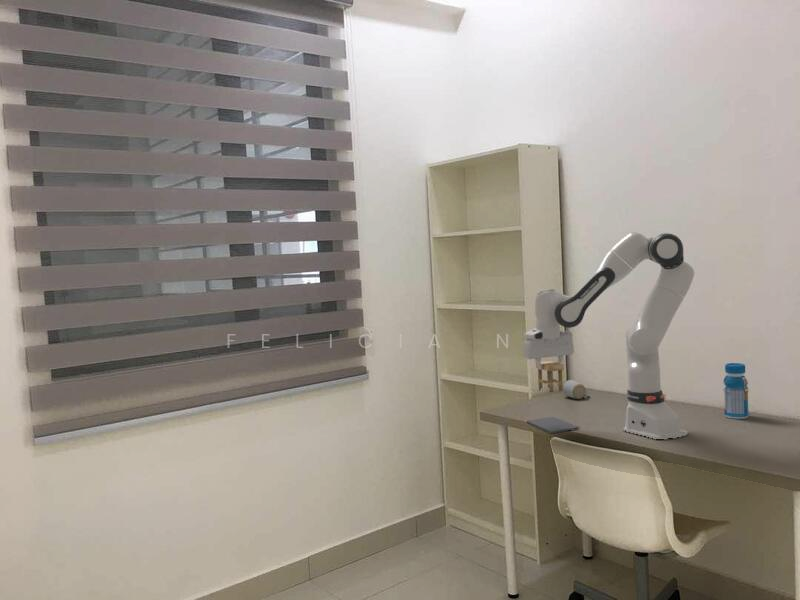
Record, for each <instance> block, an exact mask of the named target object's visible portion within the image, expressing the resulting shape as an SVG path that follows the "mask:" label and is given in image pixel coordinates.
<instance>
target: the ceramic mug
mask: <svg viewBox="0 0 800 600" xmlns="http://www.w3.org/2000/svg"><path fill="white" fill-rule="evenodd" d="M562 392H563V394H564V395H565V396H566V397H568V398H571V399H575V400H581V399H583V398H584V397H588V398H589V396H590V393H588V392H587V389H586V387H585V385H584V384H582V383H580V382H578V381H575V380H573V379H568V380H566V381H565V382H564V384H563V391H562Z"/></svg>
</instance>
